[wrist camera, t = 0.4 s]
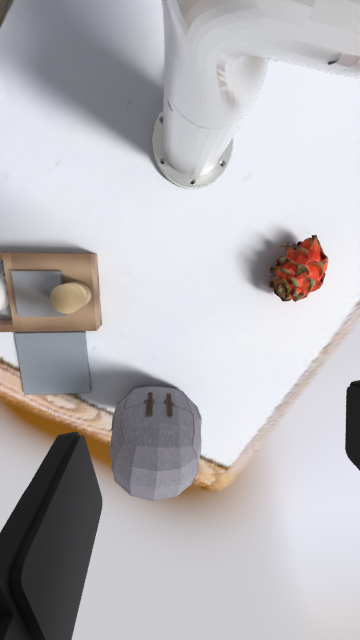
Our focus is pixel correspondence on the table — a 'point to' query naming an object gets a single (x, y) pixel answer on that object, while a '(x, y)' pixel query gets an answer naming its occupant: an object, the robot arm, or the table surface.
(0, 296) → the cylindrical container
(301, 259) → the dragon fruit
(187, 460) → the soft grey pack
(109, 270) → the table surface
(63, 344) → the mat
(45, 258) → the wooden divided tray
